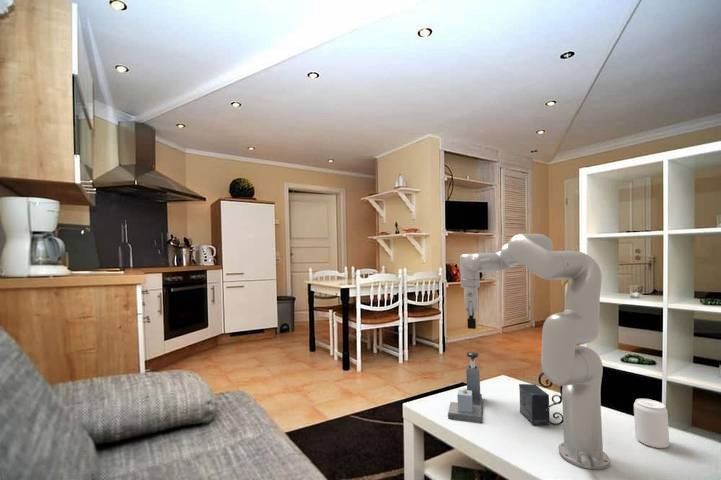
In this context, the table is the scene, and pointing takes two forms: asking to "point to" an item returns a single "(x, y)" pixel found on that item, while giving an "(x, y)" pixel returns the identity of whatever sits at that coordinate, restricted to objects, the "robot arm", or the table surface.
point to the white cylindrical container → (651, 423)
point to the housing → (465, 400)
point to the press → (473, 386)
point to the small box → (534, 404)
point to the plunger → (472, 358)
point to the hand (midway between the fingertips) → (471, 328)
